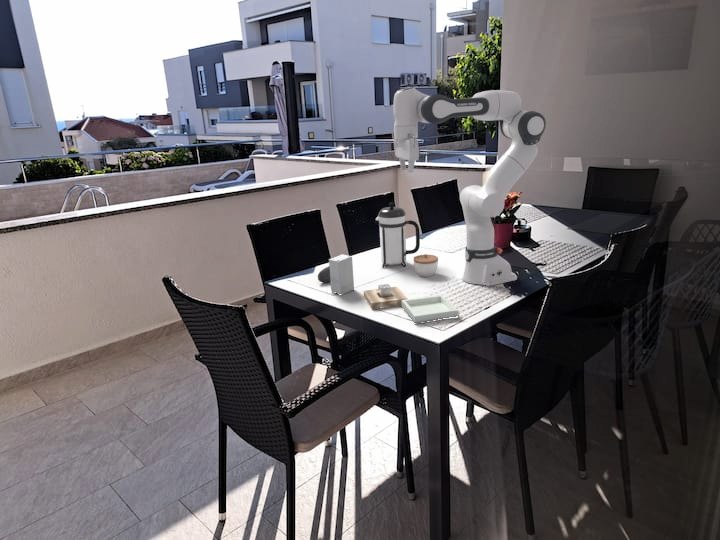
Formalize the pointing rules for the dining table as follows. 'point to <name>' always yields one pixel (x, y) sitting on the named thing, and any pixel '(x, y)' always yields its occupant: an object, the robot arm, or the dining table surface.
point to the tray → (429, 308)
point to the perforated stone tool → (324, 275)
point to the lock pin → (384, 290)
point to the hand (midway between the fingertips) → (406, 171)
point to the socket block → (384, 298)
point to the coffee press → (395, 236)
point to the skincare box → (341, 274)
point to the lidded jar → (426, 265)
